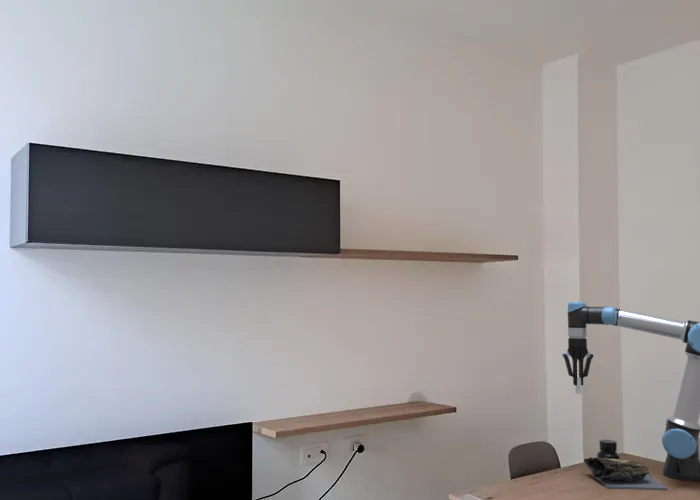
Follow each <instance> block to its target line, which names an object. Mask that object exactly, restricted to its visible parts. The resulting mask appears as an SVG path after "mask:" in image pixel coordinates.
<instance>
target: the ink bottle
mask: <svg viewBox="0 0 700 500" xmlns="http://www.w3.org/2000/svg"><path fill="white" fill-rule="evenodd" d="M617 450H618V442H617V441H616V440H612V439H600V440H599V451H598V452H597V454H596V458H610V459H620V458H621V456H620V454H619V453H618V452H617Z"/></svg>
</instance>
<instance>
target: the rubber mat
mask: <svg viewBox="0 0 700 500" xmlns="http://www.w3.org/2000/svg"><path fill="white" fill-rule="evenodd" d="M597 480H598V481H599V482H600V483H601V484H603V486H605V488H606V489H616V490H617V489H619V490H647V491H648V490H649V491H650V490H651V491H668V487H667V486H664V484H662V483H661V482H659V481H658V480H657V479H655V478H654V477H652V476H651V475H649V474H647V475H646V476H645V478H644V479H642V480H638V481H634V482H626V481H623V480H613V481H609V482H603V481H600V480H599V479H597Z"/></svg>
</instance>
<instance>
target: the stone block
mask: <svg viewBox="0 0 700 500" xmlns="http://www.w3.org/2000/svg"><path fill="white" fill-rule="evenodd" d="M583 463H584V464H585V465H586V467H587V468H588V469H589V470H590V472H591V474H592V475H593V477H594V478H595V479H597V480H598V479H599V480H600V481H603V482H609V481H613V480H623V481H626V482H634V481H638V480H642V479H644V478H645V476H646V475H649V474H650V470H649V468H648V467H647V466H646V465H645V464H644V463H642V462H640V461H636V460H626V459H610V458H597V457H589V458H584V459H583ZM599 480H598V481H599ZM600 481H599V482H600Z"/></svg>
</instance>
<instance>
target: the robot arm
mask: <svg viewBox="0 0 700 500" xmlns="http://www.w3.org/2000/svg"><path fill="white" fill-rule="evenodd" d="M566 314H567V329H568V330H567V334H568V335H567V336H568V337H569V338H568V342H567V343H568V344H567V351H565V353H562V354H561V355H562V358H564V359H563V360H564V363H565V367H566V369H567V373H568V376H569V377H572V381H573V382H572V383H573V386H575V393H576V394H577V395H578V394H579V395H580V394H582V386H583V385H584V378H586V377H588V375H589V371H590V367H591V362H592V360H593V358H594V354H593V353H590V352H589V349H588V340H587V337H588V336H587V335H588V333H587V331H588V330H587V325H602V326H610V325H611V326H615V327H621V328H624V329H629V330H635V331H639V332H643V333H648V334H653V335H657V336H663V337H667V338H672V339H675V340H679V341H681V342H682V343H683V344H686V346H685V349H684V353H685V355H686V356H687V360H686V364H685V367H684V372H683V377H682V379H681V383H680V384H681V385H680V388H679V392H678V396H677V400H676V403H675V409H674V412H673V415H671V416H669V417H668V418H667V419H666V421H665V431H664V433H663V435H662V438H661V443H662V446H663V448H664V451H665V452H666V458H665V461H664V464H663V467H662V474H663V475H664V476H666V477H668V478H670V479H671V478H672V479H675V480H681V481H689V482H697V481H700V455H699V454H700V453H699V452H700V450H699V449H700V448H699V445H700V444H699V437H700V424H699V419H700V321H695V320H689V319H687V320H685V321H681V320H676V319H671V318H665V317H662V316H657V315H651V314H646V313H641V312H636V311H631V310H628V309H627V310H626V309H620V308H615V306H614V307H613V306H608V305H607V306H588V305H587V303H586V302H585V301H569V302H568V304H567V313H566ZM569 357H570V358H571V361H572V365H571V362H570V359H569ZM585 357H586V361H585V364H584V359H585Z"/></svg>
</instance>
